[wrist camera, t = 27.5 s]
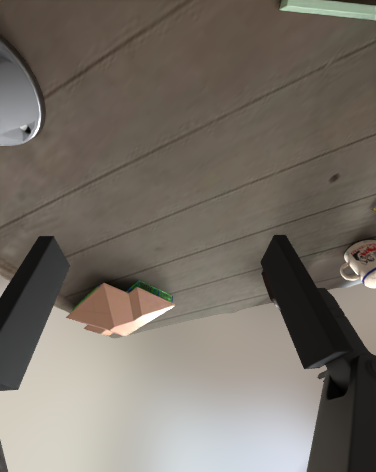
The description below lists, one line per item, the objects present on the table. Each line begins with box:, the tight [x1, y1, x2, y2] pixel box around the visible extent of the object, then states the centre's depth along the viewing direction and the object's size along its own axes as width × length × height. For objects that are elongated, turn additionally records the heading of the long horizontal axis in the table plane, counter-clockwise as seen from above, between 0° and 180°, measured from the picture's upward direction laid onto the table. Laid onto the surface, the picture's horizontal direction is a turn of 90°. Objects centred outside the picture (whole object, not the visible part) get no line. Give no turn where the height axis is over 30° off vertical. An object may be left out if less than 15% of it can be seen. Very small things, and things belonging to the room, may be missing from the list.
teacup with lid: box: [340, 240, 376, 288], centre depth 52 cm, size 12×9×12 cm
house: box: [66, 280, 175, 336], centre depth 67 cm, size 23×33×8 cm
